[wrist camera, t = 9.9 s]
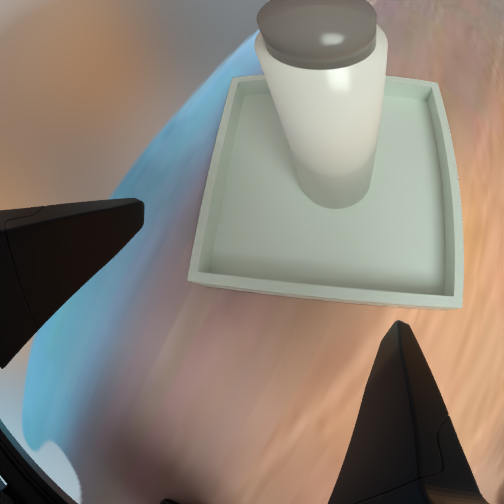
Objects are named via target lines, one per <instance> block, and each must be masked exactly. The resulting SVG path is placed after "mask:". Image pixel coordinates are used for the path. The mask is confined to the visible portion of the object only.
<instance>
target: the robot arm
mask: <svg viewBox="0 0 504 504" xmlns="http://www.w3.org/2000/svg"><path fill="white" fill-rule="evenodd" d="M143 224H144V203H143V202H142V201H140V200H138V199H136V198H124V199H111V200H99V201H88V202H77V203H67V204H58V205H49V206H40V207H31V208H21V209H11V210H0V367H1V368H2V369H3V368H4V367H5V366H6V365H7V364H8V363H9V362H10V361H11V359H12V358H13V357H14V356H15V355H16V354H17V353H18V352H19V351H20V349H21V348H22V347H23V346H24V345H25V344H26V343H27V342H28V341H29V340H30V338H31V337H32V336H33V335H34V334H35V333H36V332H37V331H38V330H39V329H40V328H41V327H42V326H43V325H44V323H45V322H46V321H47V320H48V319H49V318H50V317H51V316H52V315H53V314H54V313H55V312H56V311H57V310H58V309H59V308H60V307H61V306H62V305H63V304H64V303H65V302H66V301H67V300H68V299H69V298H70V297H71V296H72V295H74V294H75V293H76V292H77V291H78V290H79V289H80V288H81V287H82V286H83V285H84V284H85V283H86V282H87V281H88V280H89V279H90V278H91V277H93V276H94V275H95V274H96V273H97V272H98V271H99V270H100V269H101V268H102V267H103V266H105V265H106V264H107V263H108V262H109V261H110V260H111V259H112V258H113V257H114V256H115V255H116V254H117V253H118V252H119V251H120V250H121V249H122V248H123V247H124V246H125V245H126V244H127V243H128V242H129V241H130V240H131V239H132V238H133V237H134V235H135V234H136V233H137V232H138V231H139V230H140V229H141V228H142V226H143ZM0 475H1V477H2V478H3V479H4V480H5V482H6V483H7V485H5V484H4V483H3V481H2V480H1V479H0V504H78V503H76V502H75V501H74V500H73V499H72V498H71V497H70V496H68V495H67V494H66V493H65V492H64V491H63V490H62V489H61V488H60V487H59V486H57V484H56V483H55V482H54V481H53V480H52V479H51V478H49V476H48V475H46V473H45V472H44V471H43V470H42V469H41V468H40V467H39V466H38V465H37V464H36V463H35V462H34V460H33V459H32V458H31V457H30V456H29V455H28V454H27V453H26V452H25V450H24V449H23V448H22V447H21V446H20V444H19V443H18V442H17V441H16V439H15V438H14V437H13V436H12V434H11V433H10V432H9V430H8V429H7V428H6V427H5V425H4V424H3V422H2V421H1V420H0ZM160 504H179V503H176V502H174V501H171V500H169V499H164V500H162V501H161V503H160ZM328 504H489V503H488V502H487V501H486V500H485V499H484V498H483V496H482V495H481V493H480V491H479V488H478V486H477V483H476V481H475V478H474V476H473V473H472V471H471V468H470V466H469V464H468V461H467V459H466V456H465V454H464V452H463V449H462V447H461V444H460V442H459V439H458V437H457V434H456V432H455V429H454V426H453V424H452V421H451V418H450V416H448V411H447V408H446V406H445V403H444V401H443V398H442V396H441V393H440V391H439V389H438V386H437V384H436V381H435V379H434V377H433V375H432V372H431V370H430V368H429V366H428V363H427V361H426V359H425V357H424V355H423V352H422V350H421V348H420V346H419V344H418V342H417V340H416V338H415V336H414V334H413V332H412V330H411V328H410V326H409V325H408V324H406V323H404V322H402V321H400V320H397V321H396V322H395V323H394V324H393V325H392V327H391V328H390V329H389V331H388V332H387V333H386V335H385V336H384V338H383V339H382V341H381V343H380V346H379V349H378V352H377V355H376V358H375V361H374V364H373V367H372V370H371V373H370V376H369V378H368V381H367V384H366V387H365V391H364V395H363V398H362V402H361V406H360V410H359V414H358V417H357V421H356V424H355V428H354V431H353V434H352V437H351V441H350V444H349V447H348V450H347V453H346V456H345V459H344V462H343V465H342V468H341V471H340V473H339V476H338V479H337V481H336V484H335V487H334V489H333V492H332V494H331V497H330V499H329V502H328Z"/></svg>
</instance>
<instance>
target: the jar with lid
mask: <svg viewBox="0 0 504 504" xmlns="http://www.w3.org/2000/svg"><path fill="white" fill-rule="evenodd" d="M257 24H258V26H259V29H260V32H259V33H258V35H257V37H256V40H255V51H256V54H257V57H258V59H259V62H260V65H261V67H262V70H263V73H264V76H265V78H266V81H267V84H268V87H269V90H270V92H271V95H272V98H273V101H274V104H275V107H276V110H277V113H278V116H279V119H280V122H281V125H282V128H283V131H284V134H285V137H286V140H287V144H288V147H289V150H290V153H291V156H292V160H293V163H294V166H295V169H296V173H297V176H298V180H299V183H300V186H301V188H302V190H303V192H304V194H305V195H306V196H307V197H308V198H309V199H310V200H311V201H313V202H314V203H316V204H317V205H319V206H322V207H325V208H330V209H342V208H347V207H350V206H352V205H354V204H356V203H358V202H359V201H360V200H361V199H362V198H363V197H364V196H365V195H366V193H367V192H368V190H369V187H370V184H371V179H372V173H373V168H374V162H375V156H376V149H377V143H378V136H379V129H380V121H381V114H382V105H383V96H384V86H385V75H386V62H387V46H388V43H387V38H386V36H385V34H384V32H383V31H382V29H381V28H380V27H379V26H378V25H377V24H376V12H375V10H374V8H373V7H372V5H371V4H369V3H368V2H367V1H366V0H271V1H269V2H268V3H266V4H265V5H264V6H263V7H262V8H261V9H260V11H259V12H258V15H257Z"/></svg>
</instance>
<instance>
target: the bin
mask: <svg viewBox="0 0 504 504" xmlns="http://www.w3.org/2000/svg"><path fill="white" fill-rule="evenodd" d="M463 280H464V245H463V223H462V210H461V199H460V190H459V182H458V174H457V167H456V161H455V155H454V150H453V144H452V139H451V134H450V130H449V125H448V121H447V117H446V112H445V109H444V105H443V101H442V97H441V94H440V90H439V87H438V84H437V83H435V82H429V81H423V80H416V79H409V78H401V77H393V76H385V86H384V96H383V105H382V114H381V121H380V129H379V136H378V143H377V149H376V156H375V162H374V168H373V173H372V179H371V184H370V187H369V190H368V192H367V193H366V195H365V196H364V197H363V198H362V199H361V200H360V201H359V202H358V203H356V204H354V205H352V206H350V207H347V208H342V209H330V208H325V207H322V206H319V205H317V204H316V203H314V202H313V201H311V200H310V199H309V198H308V197H307V196H306V195H305V194H304V192H303V190H302V188H301V186H300V183H299V180H298V176H297V173H296V169H295V166H294V163H293V160H292V156H291V153H290V150H289V147H288V144H287V140H286V137H285V134H284V131H283V128H282V125H281V122H280V119H279V116H278V113H277V110H276V107H275V104H274V101H273V98H272V95H271V92H270V90H269V87H268V84H267V81H266V78H265V76H264V75H253V76H242V77H233V78H232V81H231V84H230V88H229V92H228V95H227V99H226V103H225V107H224V110H223V114H222V118H221V122H220V126H219V130H218V134H217V138H216V142H215V146H214V151H213V155H212V159H211V164H210V168H209V172H208V177H207V181H206V186H205V190H204V195H203V200H202V205H201V209H200V214H199V219H198V224H197V229H196V234H195V240H194V245H193V250H192V256H191V261H190V267H189V273H188V278H187V281H190V282H193V283H196V284H200V285H203V286H208V287H215V288H222V289H230V290H237V291H245V292H253V293H261V294H269V295H277V296H286V297H295V298H304V299H313V300H323V301H333V302H343V303H354V304H365V305H376V306H389V307H402V308H416V309H431V310H453V309H459V308H462V303H463Z"/></svg>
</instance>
